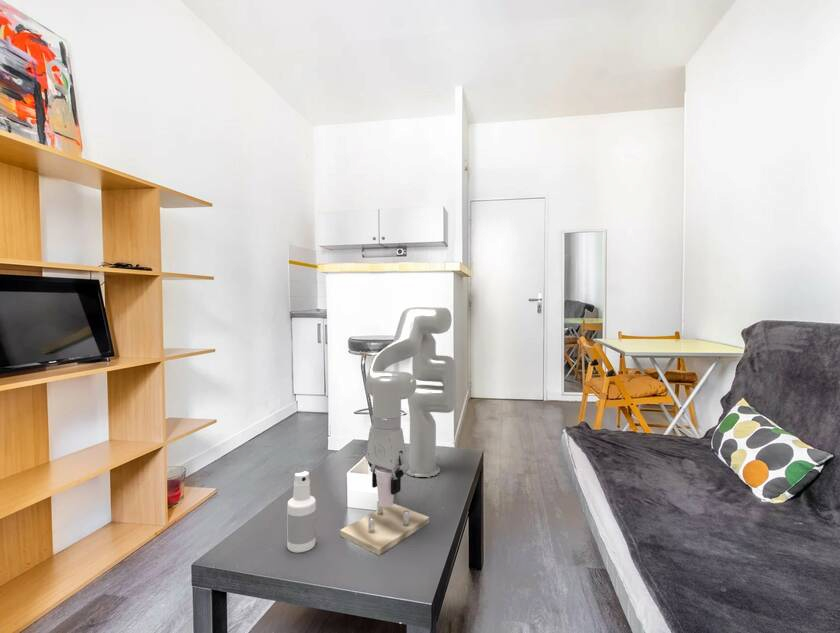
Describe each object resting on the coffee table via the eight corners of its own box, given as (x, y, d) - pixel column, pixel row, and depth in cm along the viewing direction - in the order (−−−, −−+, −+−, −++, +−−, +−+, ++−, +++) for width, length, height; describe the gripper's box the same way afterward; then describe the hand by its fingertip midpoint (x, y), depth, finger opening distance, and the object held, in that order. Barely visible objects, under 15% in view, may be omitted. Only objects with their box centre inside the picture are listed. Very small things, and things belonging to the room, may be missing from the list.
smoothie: (369, 503, 112) (370, 452, 112) (386, 496, 117) (387, 446, 117) (385, 512, 108) (386, 458, 108) (402, 504, 113) (404, 452, 112)
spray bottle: (291, 556, 100) (291, 481, 99) (284, 542, 105) (284, 471, 105) (319, 548, 103) (319, 475, 103) (310, 535, 109) (311, 466, 109)
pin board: (391, 507, 125) (391, 490, 125) (429, 522, 116) (429, 504, 116) (339, 535, 109) (340, 516, 109) (379, 555, 100) (379, 534, 100)
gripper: (354, 419, 115) (353, 485, 115) (402, 431, 104) (401, 503, 104) (373, 414, 120) (373, 477, 121) (420, 425, 110) (420, 493, 110)
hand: (386, 488), depth 112 cm, fingers closed on smoothie, 6 cm apart
